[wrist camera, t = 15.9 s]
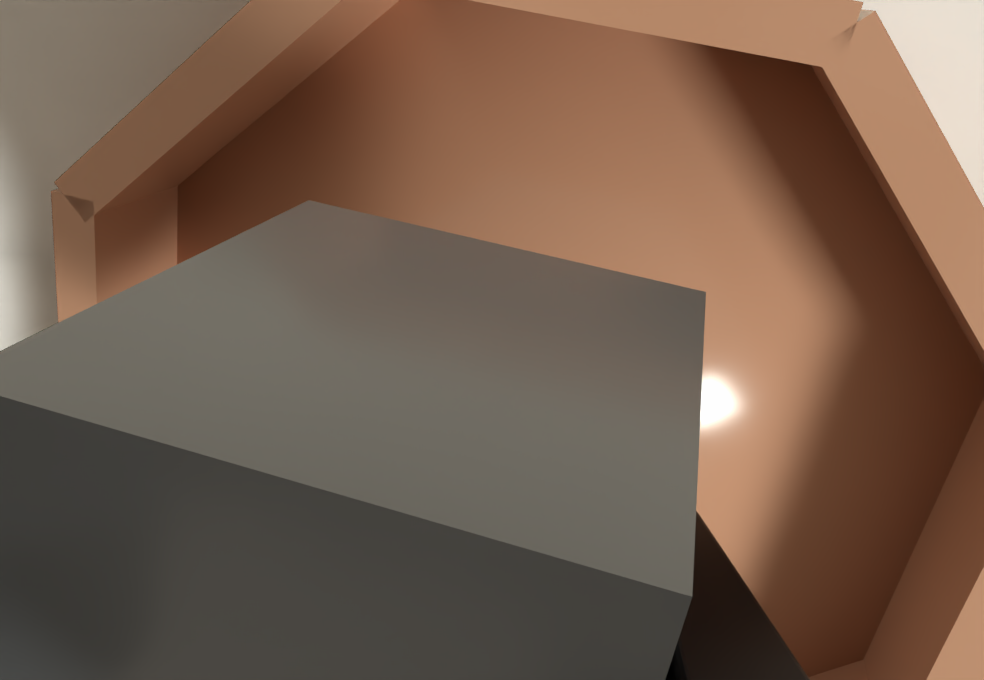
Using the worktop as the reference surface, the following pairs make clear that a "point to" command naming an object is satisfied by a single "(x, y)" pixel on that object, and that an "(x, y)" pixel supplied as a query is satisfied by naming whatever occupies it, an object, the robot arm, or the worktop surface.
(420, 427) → the matte grey cube
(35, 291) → the worktop surface
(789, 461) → the bowl
